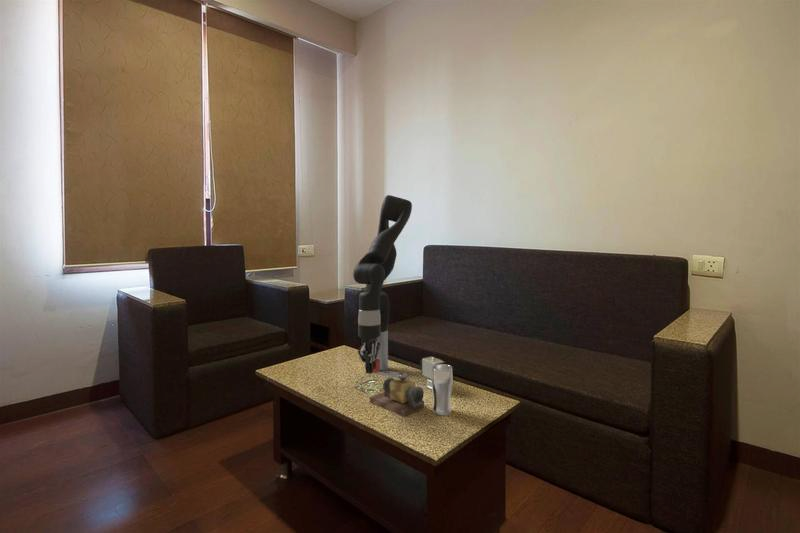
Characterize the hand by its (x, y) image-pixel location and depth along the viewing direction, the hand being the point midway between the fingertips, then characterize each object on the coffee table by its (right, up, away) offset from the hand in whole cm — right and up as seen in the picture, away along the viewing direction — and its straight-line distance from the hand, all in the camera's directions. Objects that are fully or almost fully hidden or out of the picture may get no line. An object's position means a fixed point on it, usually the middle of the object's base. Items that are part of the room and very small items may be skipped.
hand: (369, 372), depth 145 cm
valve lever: (+6, -1, +2) cm, 6 cm away
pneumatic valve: (+23, -10, +16) cm, 30 cm away
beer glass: (+24, -12, -4) cm, 27 cm away
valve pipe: (+10, -11, +1) cm, 15 cm away
